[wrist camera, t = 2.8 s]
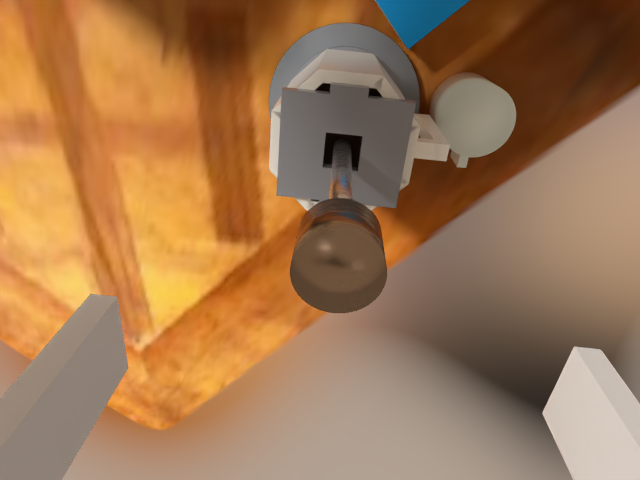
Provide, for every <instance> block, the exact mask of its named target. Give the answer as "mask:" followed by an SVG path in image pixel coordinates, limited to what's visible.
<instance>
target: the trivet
mask: <svg viewBox="0 0 640 480" xmlns="http://www.w3.org/2000/svg"><path fill="white" fill-rule="evenodd" d="M338 46H352V47H357V48H361V49H364V50H366V51H368V52H370V53H372V54H374V55H375V56H377V57H378V58H380V59H381V60H382V61H383V62H384V63H385V64H386V65H387V67H388V68H389V69H390V71H391V72H392V74H393V76H394V77H395V80H396V82H397V84H398V87H399V90H400V91H401V93H402V94H403V96H404V98H405V100H412V101H415V103H416V106H415V111H414V113H416V114H419V107H420V92H419V84H418V80H417V77H416V73H415V71H414V69H413V66H412V64H411V62H410V61H409V59H408V57H407V56H406V54H405V53H404V52H403V50H402V49H401V48H400V47H399V46H398V45H397V44H396V43H395V42H394V41H393V40H392V39H391V38H389V37H388V36H386V35H385V34H383V33H382V32H380V31H378V30H376V29H374V28H371V27H368V26H365V25H361V24H356V23H336V24H330V25H326V26H322V27H320V28H317V29H315V30H313V31H311V32H309V33H308V34H306V35H304V36H303V37H301V38H300V39H299V40H298V41H296V42H295V43H294V44H293V45H292V46H291V47H290V48H289V49H288V51H287V52H286V53H285V54H284V56H283V57H282V59H281V60H280V62H279V64H278V66H277V68H276V70H275V72H274V75H273V78H272V82H271V86H270V92H269V111H270V118H271V111H272V109H273V108H274V106H275V105H276V103H277V102H278V100H279V99H280V97H281V94H282V88H283V87H287V86H288V85H289V83H290V82H291V80H292V79H293V78H294V77H295V75H296V74H297V72H298V71H299V69H300V68H301V67H302V65H303V64H304V63H305V62H306V61H307V60H309V59H310V58H311V57H312V56H314V55H316V54H317V53H319V52H321V51H323V50H326V49H329V48H333V47H338Z"/></svg>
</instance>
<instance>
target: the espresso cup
mask: <svg viewBox="0 0 640 480" xmlns="http://www.w3.org/2000/svg"><path fill="white" fill-rule="evenodd" d="M429 113H430V116H431V118H432V119H433V121H434V122H435V124H436V125H437V127H438V128H439V129H440V131H441V132H442V134H443V135H444V137H445V138H446V140H447V141H448V143H449V144H450V149H451V150H452V152H451V156H450V157H451V158H452V160H453V162H454V163H455V165H456V166H457V167H460V168H466V166H467V162H468V159H469V157H481V156H485V155H488V154H490V153H492V152H494V151H496V150H497V149H498V148H500V147H501V146H502V145H503V144H504V143H505V142H506V141H507V140H508V138H509V137H510V135H511V133H512V131H513V129H514V126H515V122H516V108H515V105H514V102H513V100H512V98H511V97H510V95H509V94H508V93H507V92H506V91H505V90H503V89H502V88H500V87H499V86H497V85H495V84H494V83H492V82H490V81H489V80H487V79H485V78H484V77H482V76H480V75H478V74H475V73H471V72H463V73H458V74H455V75H452V76H450V77H448V78H447V79H445V80H444V81H443V82H442V83H441V84H440V85H439V86H438V87H437V88H436V90H435V91H434V93H433V95H432V98H431V101H430V106H429Z"/></svg>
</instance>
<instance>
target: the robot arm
mask: <svg viewBox="0 0 640 480" xmlns="http://www.w3.org/2000/svg"><path fill="white" fill-rule="evenodd" d="M127 369H128V363H127V357H126V350H125V343H124V337H123V330H122V324H121V317H120V311H119V304H118V297H114V296H105V295H96V294H90V296H89V297H88V298H87V299H86V300H85V301H84V303H83V304H82V305H81V306H80V307H79V308H78V309H77V311H76V312H75V313H74V314H73V315H72V316H71V317H70V319H69V320H68V321H67V322H66V323H65V324H64V326H63V327H62V328H61V329H60V330H59V331H58V332H57V334H56V335H55V336H54V337H53V338H52V339H51V340H50V342H49V343H48V344H47V345H46V346H45V347H44V349H43V350H42V351H41V352H40V353H39V354H38V355H37V357H36V358H35V359H34V360H33V361H32V362H31V363H30V365H29V366H28V367H27V368H26V369H25V371H24V372H23V373H22V374H21V375H20V376H19V377H18V378H17V380H16V381H15V382H14V383H13V384H12V385H11V386H10V388H9V389H8V390H7V391H6V392H5V393H4V395H3V396H2V397H1V398H0V480H62V478H63V476H64V475H65V473H66V472H67V470H68V468H69V466H70V465H71V463H72V461H73V460H74V458H75V456H76V455H77V453H78V451H79V450H80V448H81V446H82V445H83V443H84V441H85V439H86V438H87V436H88V435H89V433H90V431H91V429H92V428H93V426H94V424H95V423H96V421H97V419H98V418H99V416H100V414H101V413H102V411H103V409H104V408H105V406H106V404H107V403H108V401H109V399H110V398H111V396H112V394H113V393H114V391H115V389H116V388H117V386H118V384H119V382H120V381H121V379H122V377H123V376H124V374H125V372H126V371H127ZM542 414H543V416H544V418H545V420H546V422H547V424H548V427H549V429H550V431H551V433H552V435H553V437H554V439H555V441H556V444H557V446H558V448H559V450H560V452H561V454H562V456H563V459H564V461H565V463H566V465H567V467H568V469H569V472H570V474H571V476H572V478H573V480H640V404H639V402H638V401H637V399H636V398H635V397H634V395H633V394H632V392H631V391H630V389H629V388H628V387H627V385H626V384H625V383H624V381H623V380H622V378H621V377H620V376H619V374H618V373H617V371H616V370H615V369H614V367H613V366H612V364H611V363H610V362H609V360H608V359H607V357H606V356H605V355H604V353H603V352H602V350H600V349H592V348H583V347H574V348H573V350H572V352H571V354H570V356H569V358H568V360H567V362H566V364H565V367H564V369H563V371H562V373H561V375H560V377H559V379H558V382H557V384H556V385H555V388H554V390H553V392H552V394H551V396H550V398H549V400H548V403H547V404H546V406H545V409H544V411H543V413H542Z"/></svg>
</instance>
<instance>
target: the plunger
mask: <svg viewBox="0 0 640 480" xmlns="http://www.w3.org/2000/svg"><path fill="white" fill-rule="evenodd" d="M290 277H291V282H292V285H293V287H294V289H295V291H296V292H297V294H298V295H299V296H300V297H301V298H302V299H303V300H304V301H305V302H306V303H308V304H309V305H311V306H313V307H315V308H317V309H319V310H322V311H326V312H331V313H348V312H353V311H357V310H359V309H362V308H364V307H366V306H367V305H369V304H370V303H372V302H373V301H374V300H375V299H376V298H377V297H378V296H379V295H380V293H381V292H382V290H383V288H384V286H385V283H386V279H387V267H386V260H385V253H384V246H383V239H382V232H381V227H380V224H379V221H378V219H377V217H376V216H375V215H374V213H373V212H372V211H371V210H370V209H369V208H368V207H366V206H365V205H363V204H362V203H360V202H357V201H355V200H352V161H351V144H350V143H349V141H347V140H345V139H339V140H337V141H336V142H335V144H334V147H333V158H332V169H331V181H330V192H329V199H327V200H324V201H321V202H319V203H317V204H316V205H314V206H312V207H311V208H310V209H309V210H308V211H307V212H306V213H305V215H304V216H303V218H302V219H301V222H300V224H299V228H298V232H297V237H296V242H295V247H294V252H293V256H292V261H291V267H290Z"/></svg>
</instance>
